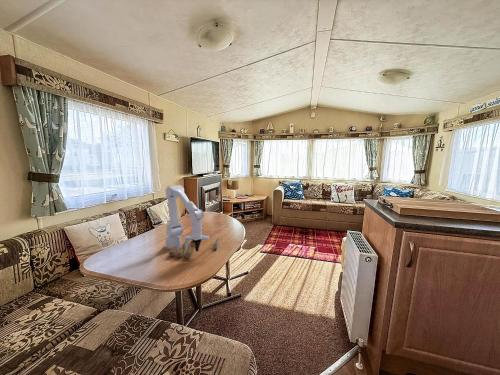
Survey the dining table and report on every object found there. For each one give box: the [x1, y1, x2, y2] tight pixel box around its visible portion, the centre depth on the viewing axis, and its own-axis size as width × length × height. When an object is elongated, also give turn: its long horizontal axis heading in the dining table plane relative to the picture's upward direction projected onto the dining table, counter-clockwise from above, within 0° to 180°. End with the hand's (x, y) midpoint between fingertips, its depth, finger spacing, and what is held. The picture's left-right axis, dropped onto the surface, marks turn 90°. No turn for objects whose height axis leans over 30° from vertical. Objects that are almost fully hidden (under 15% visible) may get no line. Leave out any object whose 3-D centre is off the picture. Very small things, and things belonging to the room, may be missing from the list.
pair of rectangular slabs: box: [182, 237, 220, 252], centre depth 141 cm, size 22×12×4 cm, turn 93°
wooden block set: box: [168, 240, 196, 260], centre depth 127 cm, size 18×9×10 cm
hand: (197, 250), depth 126 cm, fingers closed
